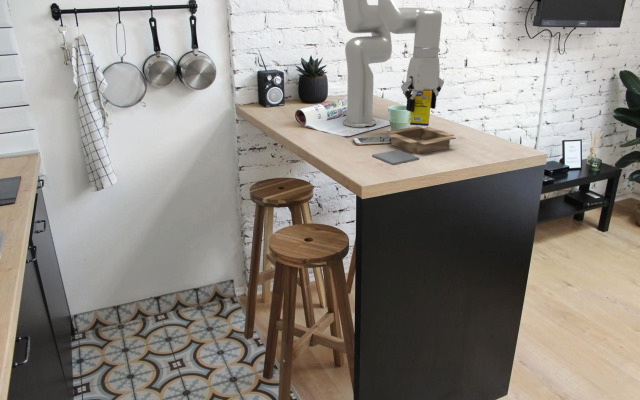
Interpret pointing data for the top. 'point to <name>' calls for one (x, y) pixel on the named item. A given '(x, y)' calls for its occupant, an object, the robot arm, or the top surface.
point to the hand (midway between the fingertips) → (420, 109)
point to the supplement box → (421, 108)
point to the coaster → (395, 157)
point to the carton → (430, 136)
